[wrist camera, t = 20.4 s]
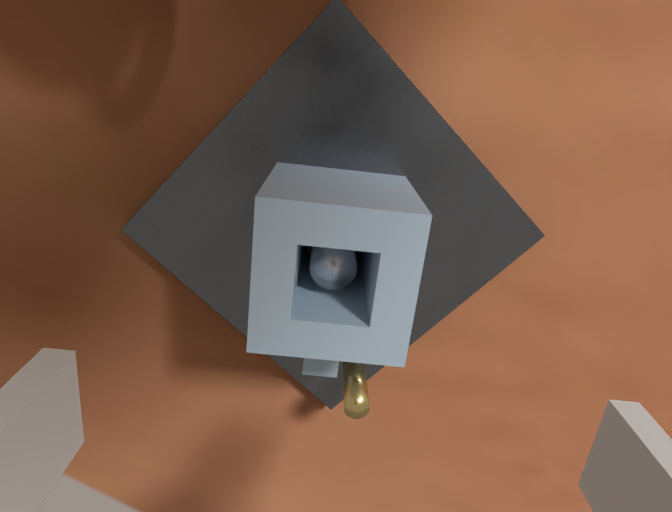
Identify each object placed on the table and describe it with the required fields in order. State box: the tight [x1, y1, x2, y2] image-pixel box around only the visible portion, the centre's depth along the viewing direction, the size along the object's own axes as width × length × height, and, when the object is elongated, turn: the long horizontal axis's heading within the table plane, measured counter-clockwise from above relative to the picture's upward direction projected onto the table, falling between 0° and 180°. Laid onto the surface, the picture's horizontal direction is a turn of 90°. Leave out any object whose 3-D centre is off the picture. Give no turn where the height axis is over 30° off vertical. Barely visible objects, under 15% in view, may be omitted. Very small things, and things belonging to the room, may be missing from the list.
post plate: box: [121, 0, 545, 419], centre depth 26 cm, size 17×17×6 cm
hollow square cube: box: [246, 162, 432, 378], centre depth 25 cm, size 12×7×8 cm, turn 174°
